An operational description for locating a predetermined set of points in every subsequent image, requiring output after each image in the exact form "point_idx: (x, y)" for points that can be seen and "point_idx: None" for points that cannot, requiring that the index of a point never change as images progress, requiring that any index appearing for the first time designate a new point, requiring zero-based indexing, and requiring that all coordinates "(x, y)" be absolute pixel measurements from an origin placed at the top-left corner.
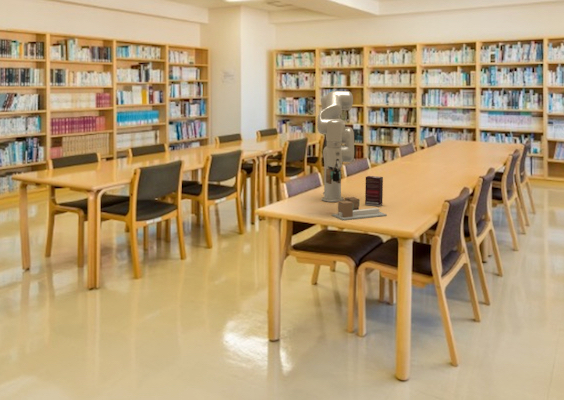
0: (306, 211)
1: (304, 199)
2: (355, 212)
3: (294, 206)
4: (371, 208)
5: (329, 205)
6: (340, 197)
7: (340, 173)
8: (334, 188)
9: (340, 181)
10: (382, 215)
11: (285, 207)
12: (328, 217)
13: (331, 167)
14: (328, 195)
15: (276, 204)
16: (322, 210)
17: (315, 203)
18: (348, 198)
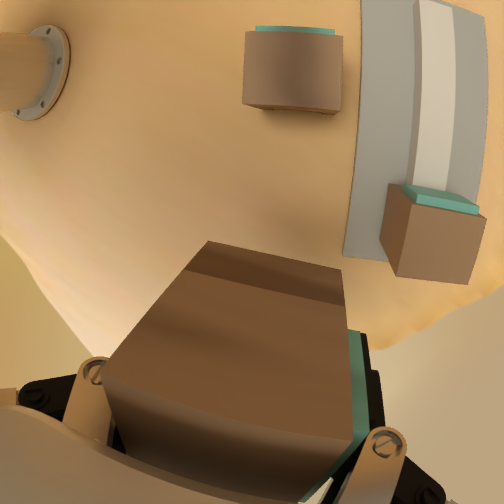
0: None
1: (7, 178)
2: (446, 166)
3: (92, 280)
4: (421, 26)
5: (111, 125)
6: (46, 39)
7: (347, 373)
8: (10, 72)
9: (342, 285)
10: (484, 39)
11: (102, 316)
12: (365, 287)
13: (63, 413)
14: (28, 99)
15: (59, 309)
16: (202, 221)
17: (61, 170)
18: (288, 97)
